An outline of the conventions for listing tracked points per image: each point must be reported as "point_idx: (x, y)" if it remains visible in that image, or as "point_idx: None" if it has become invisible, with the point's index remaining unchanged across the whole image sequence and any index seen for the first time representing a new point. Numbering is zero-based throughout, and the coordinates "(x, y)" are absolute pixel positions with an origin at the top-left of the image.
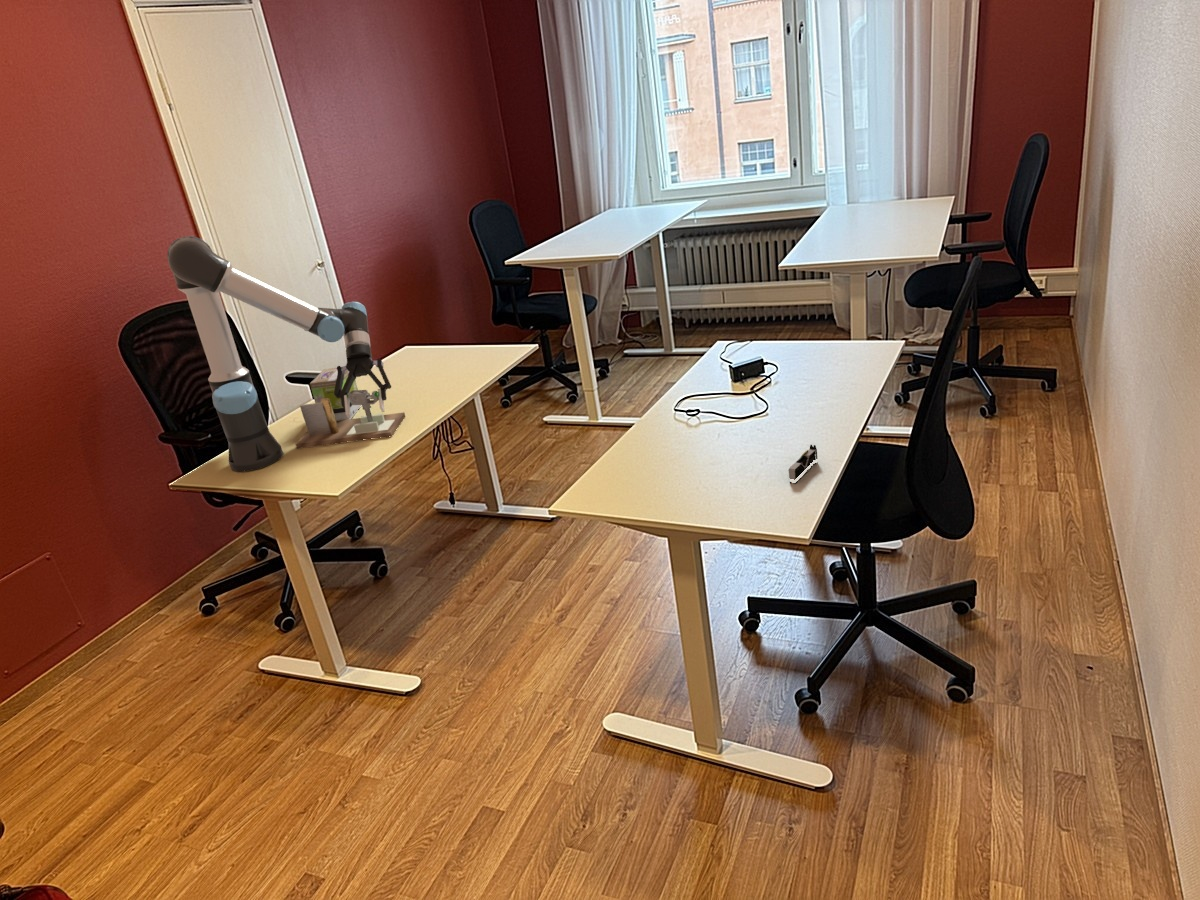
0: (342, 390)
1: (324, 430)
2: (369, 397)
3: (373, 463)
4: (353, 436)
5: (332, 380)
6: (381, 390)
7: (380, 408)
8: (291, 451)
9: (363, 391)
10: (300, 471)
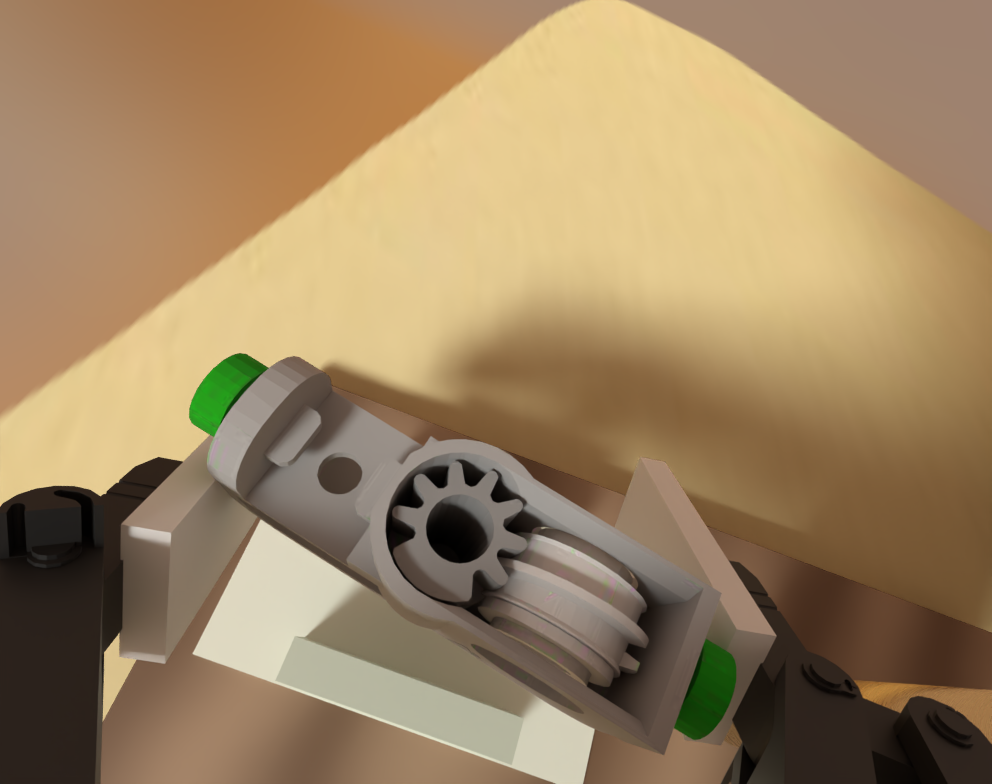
0: (851, 740)
1: None
2: (369, 446)
3: (454, 101)
4: (574, 485)
5: None
6: (118, 546)
7: None
8: (984, 603)
9: (441, 579)
10: (818, 253)
